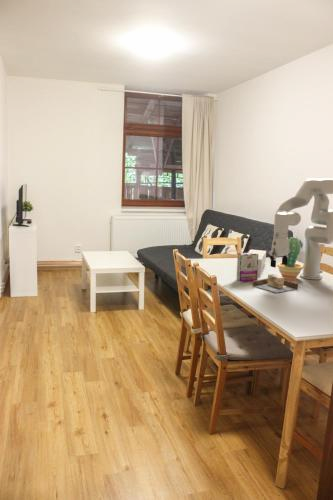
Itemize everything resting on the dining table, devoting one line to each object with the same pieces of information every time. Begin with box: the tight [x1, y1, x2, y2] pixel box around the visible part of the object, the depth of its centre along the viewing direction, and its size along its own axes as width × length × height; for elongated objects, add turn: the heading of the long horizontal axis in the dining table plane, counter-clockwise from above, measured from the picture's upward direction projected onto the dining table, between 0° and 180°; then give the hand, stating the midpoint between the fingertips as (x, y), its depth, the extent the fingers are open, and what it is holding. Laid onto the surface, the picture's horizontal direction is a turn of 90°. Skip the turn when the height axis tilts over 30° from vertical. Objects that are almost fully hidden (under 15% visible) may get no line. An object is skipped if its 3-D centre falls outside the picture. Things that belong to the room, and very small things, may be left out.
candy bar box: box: [236, 252, 258, 283], centre depth 252 cm, size 11×5×16 cm, turn 105°
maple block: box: [267, 273, 285, 287], centre depth 244 cm, size 8×4×5 cm, turn 37°
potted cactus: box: [276, 236, 304, 281], centre depth 262 cm, size 15×15×25 cm
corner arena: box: [251, 277, 299, 294], centre depth 241 cm, size 18×17×3 cm
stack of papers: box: [247, 249, 267, 277], centre depth 281 cm, size 32×11×11 cm, turn 162°
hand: (278, 265), depth 242 cm, fingers open, 9 cm apart
